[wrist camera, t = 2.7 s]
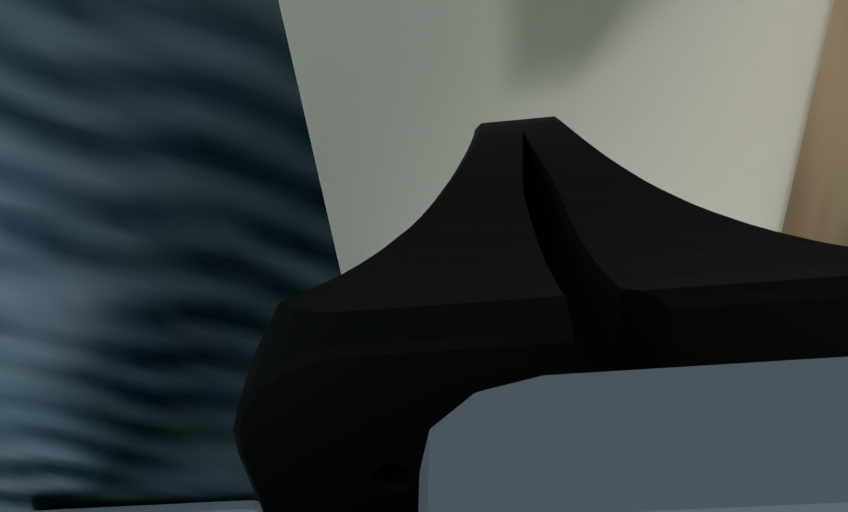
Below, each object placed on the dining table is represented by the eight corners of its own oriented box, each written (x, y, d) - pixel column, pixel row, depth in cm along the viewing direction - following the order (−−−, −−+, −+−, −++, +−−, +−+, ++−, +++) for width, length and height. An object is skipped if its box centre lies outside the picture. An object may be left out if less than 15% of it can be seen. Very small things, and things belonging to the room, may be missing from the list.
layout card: (1086, 623, 25) (1097, 637, 24) (428, 643, 27) (428, 656, 26) (1899, -283, 10) (1962, -285, 9) (265, -84, 12) (259, -78, 11)
